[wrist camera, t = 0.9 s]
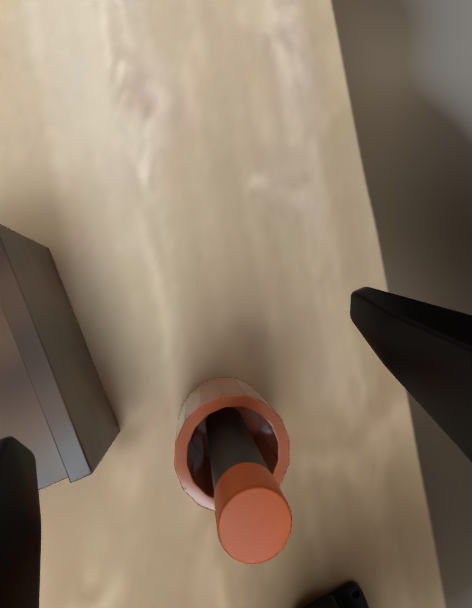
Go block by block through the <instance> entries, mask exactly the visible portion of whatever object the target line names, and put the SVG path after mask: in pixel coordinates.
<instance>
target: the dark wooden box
mask: <svg viewBox="0 0 472 608" xmlns="http://www.w3.org/2000/svg"><path fill="white" fill-rule="evenodd" d="M119 432H120V430H119V428H118V425H117V423H116V420H115V418H114V415H113V412H112V410H111V407H110V405H109V402H108V400H107V397H106V394H105V392H104V389H103V387H102V384H101V382H100V379H99V377H98V374H97V371H96V369H95V366H94V364H93V361H92V359H91V356H90V354H89V351H88V348H87V346H86V343H85V341H84V338H83V336H82V333H81V330H80V328H79V325H78V323H77V320H76V318H75V315H74V313H73V310H72V307H71V305H70V302H69V300H68V297H67V295H66V292H65V290H64V287H63V284H62V282H61V279H60V277H59V274H58V272H57V269H56V266H55V264H54V261H53V259H52V256H51V254H50V251H49V249H48V248H47V247H45V246H43V245H41V244H39V243H37V242H35V241H33V240H31V239H29V238H27V237H25V236H23V235H21V234H19V233H17V232H15V231H13V230H11V229H9V228H7V227H5V226H3V225H1V224H0V439H2V438H5V437H7V436H12V437H14V438H16V439H17V440H18V441H20V442H21V443H22V444H23V445H25V446H26V447H27V448H28V449H30V450H31V451H32V452H33V454H34V456H35V459H36V468H37V479H38V490H40V489H42V488H45V487H47V486H49V485H51V484H54V483H56V482H58V481H61V480H63V479H65V478H67V477H68V478H69V480H70V482H71V483H72V482H74V481H77V480H79V479H81V478H83V477H86V476H88V475H90V474H92V473H93V471H94V470H95V468H96V467H97V465H98V464H99V462H100V461H101V459H102V458H103V456H104V455H105V453H106V452H107V450H108V449H109V447H110V446H111V444H112V442H113V441H114V439H115V438H116V436H117V435H118V433H119Z"/></svg>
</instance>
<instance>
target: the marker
mask: <svg viewBox="0 0 472 608" xmlns="http://www.w3.org/2000/svg"><path fill="white" fill-rule="evenodd" d="M206 431H207V439H208V447H209V455H210V463H211V471H212V479H213V487H214V506H215V515H216V523H217V532H218V537H219V540H220V543H221V545H222V547H223V548H224V550H225V551H226V552H227V553H228V554H229V555H230V556H231V557H233V558H234V559H236V560H238V561H240V562H243V563H248V564H256V563H261V562H265V561H267V560H269V559H271V558H272V557H274V556H275V555H276V554H278V553H279V552H280V551H281V549H282V548H283V547H284V545H285V544H286V542H287V540H288V538H289V535H290V532H291V526H292V516H291V511H290V507H289V505H288V503H287V501H286V499H285V497H284V495H283V493H282V491H281V489H280V487H279V485H278V484H277V482H276V480H275V478H274V476H273V475H272V473H271V472H270V471H269V469H268V467H267V465H266V463H265V461H264V459H263V457H262V455H261V453H260V451H259V449H258V447H257V446H256V444H255V442H254V440H253V438H252V436H251V434H250V432H249V430H248V428H247V426H246V424H245V422H244V420H243V418H242V416H241V414H240V413H239V411H238V410H237V409H235V408H234V407H224V408H222V409H220V410H217V411H215V412H213V413H211V414H209V415H208V417H207V420H206Z"/></svg>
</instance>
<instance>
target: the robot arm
mask: <svg viewBox="0 0 472 608" xmlns="http://www.w3.org/2000/svg"><path fill="white" fill-rule="evenodd" d="M350 316H351V319H352V321H353V323H354V324H355V326H356V327H357V328H358V330H359V331H360V332H361V334H362V335H363V337H364V338H365V339H366V341H367V342H368V344H369V345H370V346H371V348H372V349H373V350H374V352H375V353H376V355H377V356H378V357H379V359H380V360H381V361H382V363H383V364H384V365H385V366H386V367H387V369H388V370H389V371H390V372H391V373H392V374H393V375H394V376H395V378H396V379H397V380H398V381H399V382H400V383H401V384H402V385H403V386H404V388H405V389H406V390H407V391H408V392H409V393H410V394H411V395H412V396H413V398H414V399H415V400H416V401H417V402H418V403H419V404H420V405H421V406H422V407H423V408H424V410H425V411H426V412H427V413H428V414H429V415H430V416H431V417H432V419H433V420H434V421H435V422H436V423H437V424H438V425H439V426H440V427H441V429H442V430H443V431H444V432H445V433H446V434H447V435H448V436H449V437H450V439H451V440H452V441H453V442H454V443H455V444H456V445H457V446H458V447H459V448H460V450H461V451H462V452H463V453H464V454H465V455H466V456H467V457H468V458H469V460H470V461H471V462H472V315H468V314H465V313H461V312H457V311H454V310H450V309H446V308H442V307H439V306H436V305H431V304H428V303H425V302H420V301H417V300H414V299H410V298H406V297H403V296H399V295H395V294H392V293H388V292H385V291H381V290H377V289H374V288H370V287H363V288H361V289H358V290H356V291H354V292H352V294H351V305H350ZM40 556H41V514H40V503H39V491H38V479H37V468H36V459H35V456H34V454H33V452H32V451H31V450H30V449H28V448H27V447H26V446H25V445H23V444H22V443H21V442H20V441H18V440H17V439H16V438H14V437H12V436H7V437H5V438H2V439H0V608H39V589H40ZM355 590H356V591H355ZM353 591H355V592H354V593H352V592H353ZM304 608H369V607H368V604H367V602H366V599H365V597H364V594H363V592H362V590H361V588H360V587H359V585H358V583H356V582H354V581H351V582H349V583H347V584H345V585H343V586H342V587H340V588H338V589H336V590H334V591H333V592H331V593H329V594H327V595H325V596H323V597H322V598H320V599H318V600H316V601H314V602H313V603H311V604H309V605H307V606H305V607H304Z"/></svg>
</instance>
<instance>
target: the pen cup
mask: <svg viewBox="0 0 472 608" xmlns="http://www.w3.org/2000/svg"><path fill="white" fill-rule="evenodd" d="M224 407H234V408H235V409H237V410H238V411H239V413H240V414H241V416H242V418H243V420H244V422H245V424H246V426H247V428H248V430H249V432H250V434H251V436H252V438H253V440H254V442H255V444H256V446H257V447H258V449H259V451H260V453H261V455H262V457H263V459H264V461H265V463H266V465H267V467H268V469H269V471H270V472H271V473H272V475H273V476H274V478H275V480H276V482H277V484H278V485H279V486H280V484H281V483H282V480H283V478H284V475H285V472H286V470H287V467H288V465H289V448H290V441H289V437H288V434H287V432H286V429H285V427H284V424H283V421H282V420H281V418H280V417H279V415H278V414H277V413H276V412H275V411H274V410H273V409H272V408H271V407H270V405H269V404H268V403H267V402H266V401H265V400H264V399H263V398H262V397H261V396H260V395H259V394H258V393H257V391H256V390H255V389H254V388H253V387H252V386H250V385H249V384H247V383H245V382H243V381H241V380H239V379H236V378H231V377H219V378H214V379H211V380H208V381H206V382H204V383H202V384H201V385H199V386H198V387H196V388H195V389H194V390H193V391H192V392H191V393H190V394H189V396H188V397H187V399H186V400H185V402H184V404H183V406H182V409H181V412H180V415H179V420H178V427H177V434H176V441H175V461H174V466H175V470H176V473H177V475H178V478H179V480H180V483H181V486H182V488H183V489H184V491H185V492H186V493H187V494H188V495H189V496H190V497H191V498H192V499H193V500H194V501H195V502H196V503H197V504H198V505H200V506H202V507H205V508H207V509H210V510H213V511H215V506H214V487H213V479H212V471H211V463H210V455H209V447H208V439H207V431H206V420H207V417H208V415H209V414H211V413H213V412H215V411H217V410H220V409H222V408H224Z"/></svg>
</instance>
